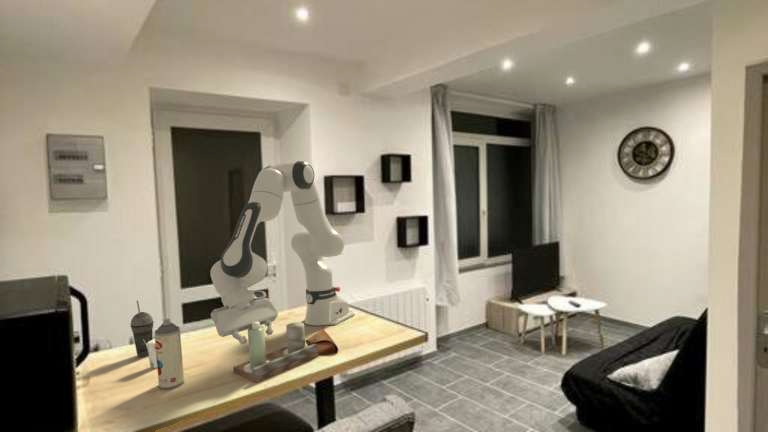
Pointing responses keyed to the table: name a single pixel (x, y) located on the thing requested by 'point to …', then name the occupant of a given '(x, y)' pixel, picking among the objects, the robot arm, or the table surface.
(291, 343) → the rail stand
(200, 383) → the table surface
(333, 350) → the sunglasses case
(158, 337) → the aerosol can
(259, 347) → the slim bottle
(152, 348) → the milkshake
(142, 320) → the beverage cup
